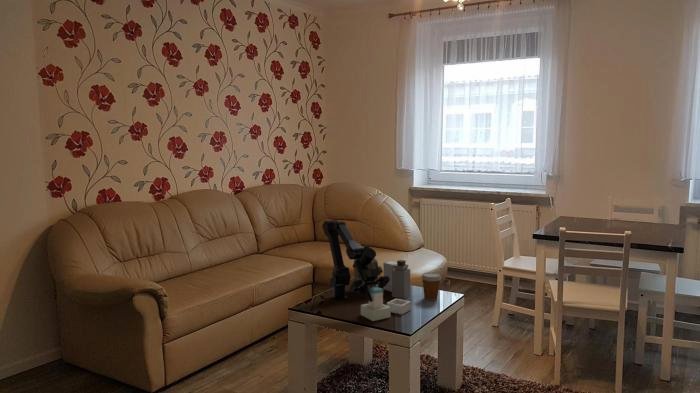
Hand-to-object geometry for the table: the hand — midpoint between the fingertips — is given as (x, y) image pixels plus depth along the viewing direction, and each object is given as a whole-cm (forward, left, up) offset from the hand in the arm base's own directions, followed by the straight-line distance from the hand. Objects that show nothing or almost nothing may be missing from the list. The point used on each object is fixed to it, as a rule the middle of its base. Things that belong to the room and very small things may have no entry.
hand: (377, 300), depth 224 cm
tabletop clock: (-37, +10, -8) cm, 39 cm away
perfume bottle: (-24, +24, -8) cm, 35 cm away
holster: (-4, +13, -8) cm, 15 cm away
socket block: (-1, 0, -8) cm, 8 cm away
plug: (-1, 0, -8) cm, 8 cm away
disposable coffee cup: (-15, +36, -8) cm, 40 cm away
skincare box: (-34, +24, -8) cm, 42 cm away
